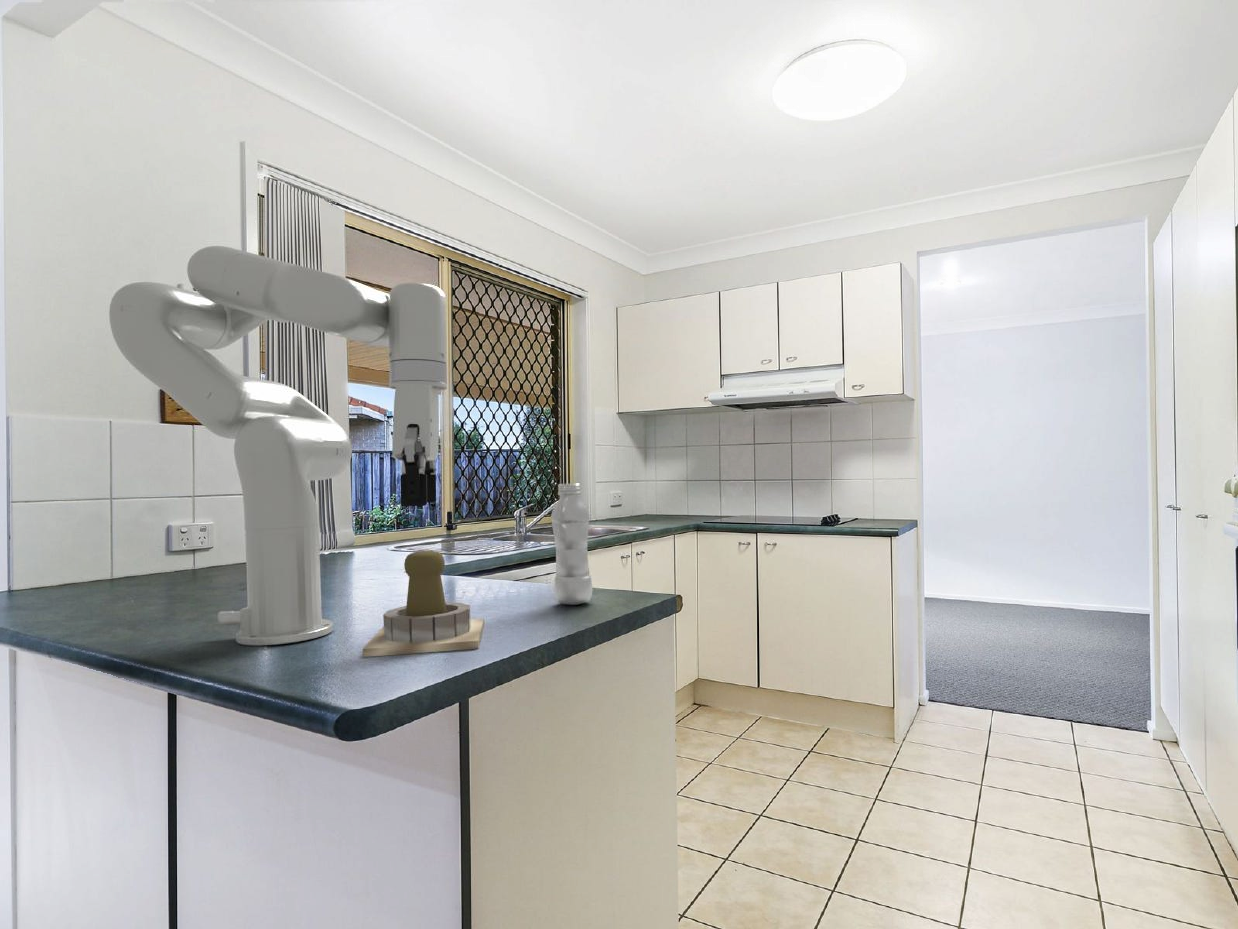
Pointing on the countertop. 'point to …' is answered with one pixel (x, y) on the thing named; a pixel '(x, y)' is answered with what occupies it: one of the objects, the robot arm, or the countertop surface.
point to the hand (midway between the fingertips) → (419, 504)
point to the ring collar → (426, 632)
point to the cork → (425, 584)
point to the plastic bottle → (571, 547)
